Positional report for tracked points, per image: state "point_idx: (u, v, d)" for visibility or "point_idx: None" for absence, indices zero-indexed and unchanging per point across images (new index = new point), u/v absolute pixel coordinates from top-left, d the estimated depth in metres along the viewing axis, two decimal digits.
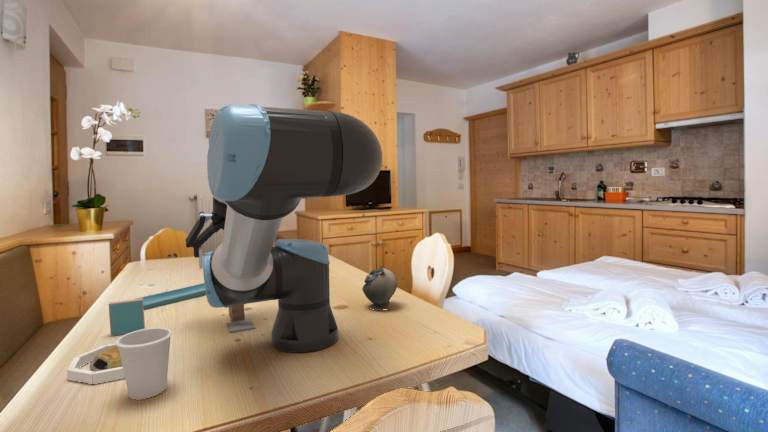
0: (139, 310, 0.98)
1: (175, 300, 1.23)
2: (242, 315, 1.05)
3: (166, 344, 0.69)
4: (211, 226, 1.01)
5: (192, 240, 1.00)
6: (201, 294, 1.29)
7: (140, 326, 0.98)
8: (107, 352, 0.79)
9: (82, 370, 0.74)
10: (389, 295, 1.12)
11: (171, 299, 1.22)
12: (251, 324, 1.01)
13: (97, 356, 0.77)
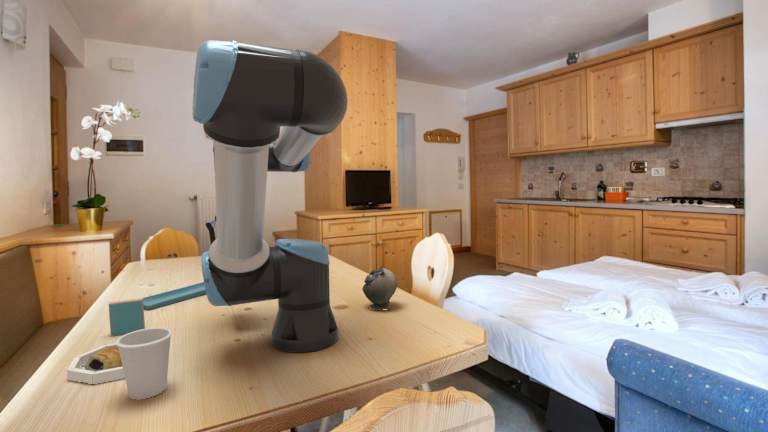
0: (139, 310, 0.98)
1: (178, 300, 1.23)
2: None
3: (166, 344, 0.69)
4: None
5: None
6: (202, 293, 1.30)
7: (140, 326, 0.98)
8: (102, 352, 0.79)
9: (82, 370, 0.74)
10: (389, 295, 1.12)
11: (174, 299, 1.22)
12: None
13: (93, 356, 0.77)
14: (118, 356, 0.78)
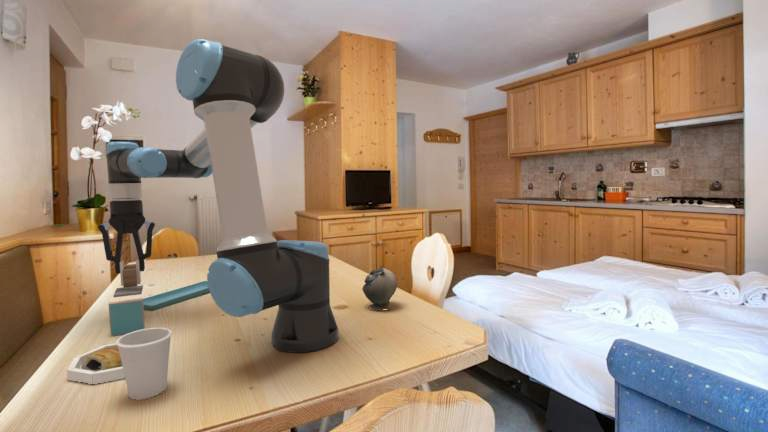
0: (139, 310, 0.98)
1: (179, 299, 1.23)
2: (134, 281, 1.08)
3: (166, 344, 0.69)
4: None
5: (108, 251, 1.07)
6: (202, 293, 1.31)
7: (140, 326, 0.98)
8: (100, 353, 0.79)
9: (82, 370, 0.74)
10: (389, 295, 1.12)
11: (176, 299, 1.22)
12: (139, 290, 1.05)
13: (90, 357, 0.77)
14: (115, 356, 0.78)
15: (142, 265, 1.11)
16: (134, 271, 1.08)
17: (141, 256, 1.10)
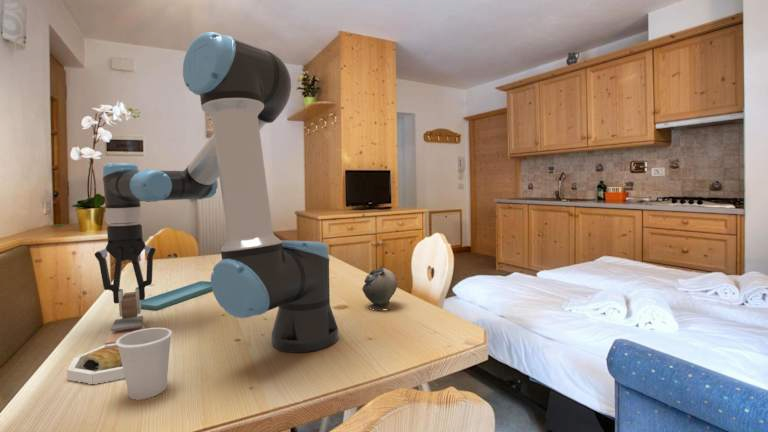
0: None
1: (181, 299, 1.23)
2: (133, 312, 1.01)
3: (166, 344, 0.69)
4: None
5: (105, 280, 1.00)
6: (202, 292, 1.31)
7: None
8: (97, 353, 0.78)
9: (82, 370, 0.74)
10: (389, 295, 1.12)
11: (178, 298, 1.22)
12: (139, 321, 0.98)
13: (87, 357, 0.77)
14: (113, 356, 0.78)
15: (142, 293, 1.04)
16: (133, 301, 1.01)
17: (141, 284, 1.03)
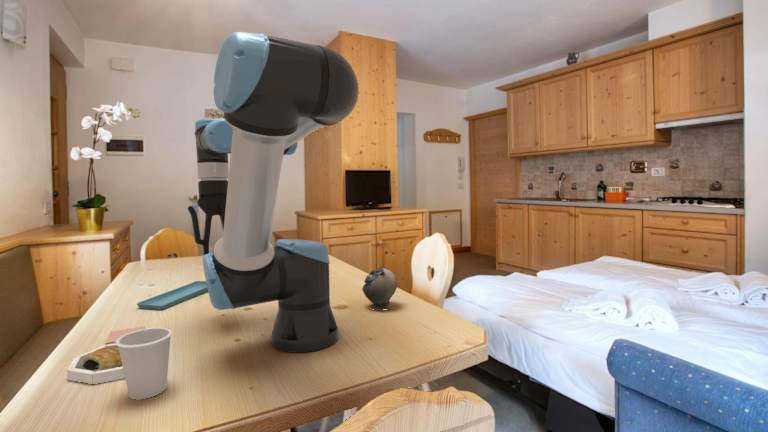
0: None
1: (184, 299, 1.24)
2: None
3: (166, 344, 0.69)
4: (206, 218, 1.03)
5: (197, 234, 1.01)
6: (201, 292, 1.32)
7: None
8: (96, 353, 0.79)
9: (82, 370, 0.74)
10: (389, 295, 1.12)
11: (181, 298, 1.22)
12: None
13: (87, 357, 0.77)
14: (113, 356, 0.79)
15: None
16: None
17: None
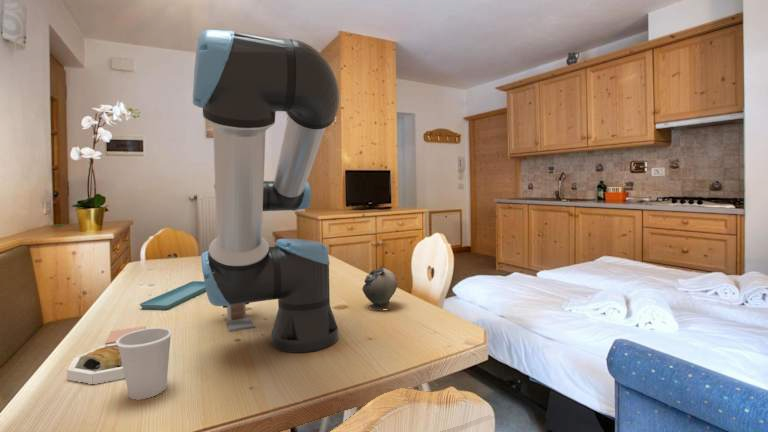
0: None
1: (186, 299, 1.24)
2: (242, 314, 1.06)
3: (166, 344, 0.69)
4: None
5: None
6: (201, 292, 1.32)
7: None
8: (97, 352, 0.79)
9: (82, 370, 0.74)
10: (389, 295, 1.12)
11: (184, 298, 1.23)
12: (250, 323, 1.02)
13: (88, 356, 0.77)
14: (113, 355, 0.79)
15: None
16: None
17: None
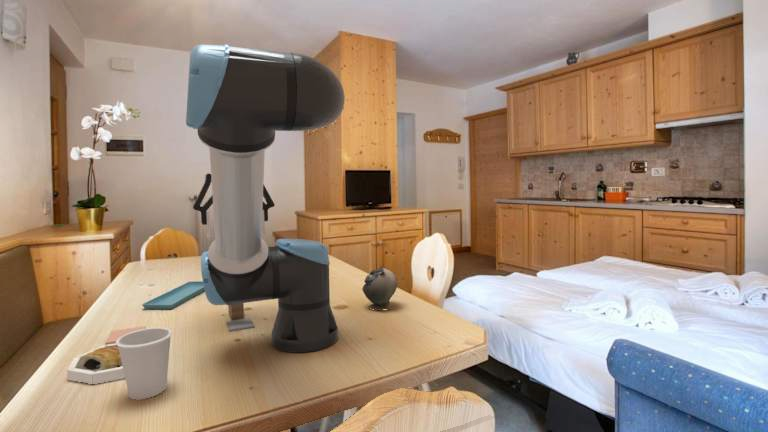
0: None
1: (187, 298, 1.24)
2: (241, 314, 1.05)
3: (166, 344, 0.69)
4: None
5: (199, 201, 1.00)
6: (200, 291, 1.33)
7: None
8: (96, 352, 0.79)
9: (82, 370, 0.74)
10: (389, 295, 1.12)
11: (186, 297, 1.23)
12: (250, 323, 1.02)
13: (88, 356, 0.77)
14: (114, 355, 0.79)
15: (266, 215, 1.09)
16: (242, 303, 1.05)
17: (265, 205, 1.08)
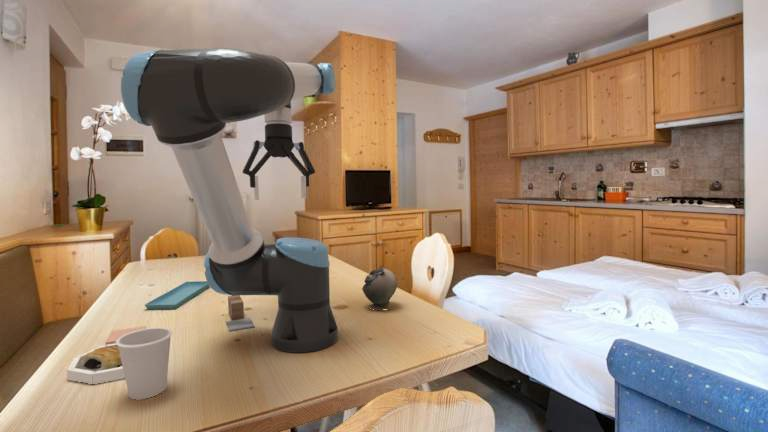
0: None
1: (189, 298, 1.25)
2: (241, 314, 1.05)
3: (166, 344, 0.69)
4: (265, 155, 1.12)
5: (249, 165, 1.09)
6: (200, 291, 1.33)
7: None
8: (97, 352, 0.79)
9: (82, 370, 0.74)
10: (389, 295, 1.12)
11: (187, 297, 1.23)
12: (250, 323, 1.02)
13: (88, 356, 0.77)
14: (114, 354, 0.79)
15: (307, 181, 1.18)
16: (242, 303, 1.05)
17: (306, 172, 1.17)
